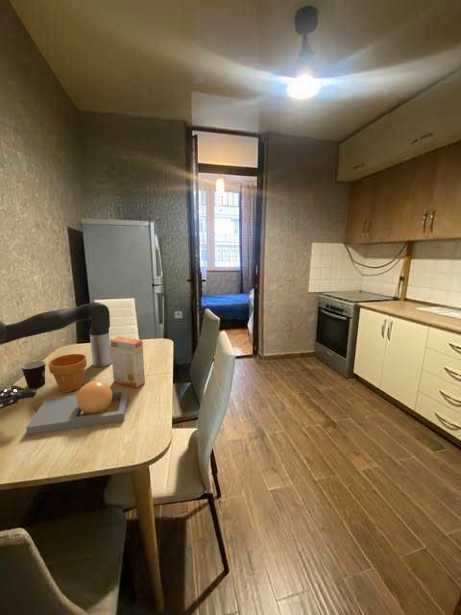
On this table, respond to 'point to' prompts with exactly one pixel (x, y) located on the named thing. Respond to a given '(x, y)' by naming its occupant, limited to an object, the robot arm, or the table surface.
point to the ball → (94, 397)
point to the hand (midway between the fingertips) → (35, 393)
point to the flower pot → (68, 371)
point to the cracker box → (127, 361)
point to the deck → (72, 414)
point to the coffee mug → (34, 374)
